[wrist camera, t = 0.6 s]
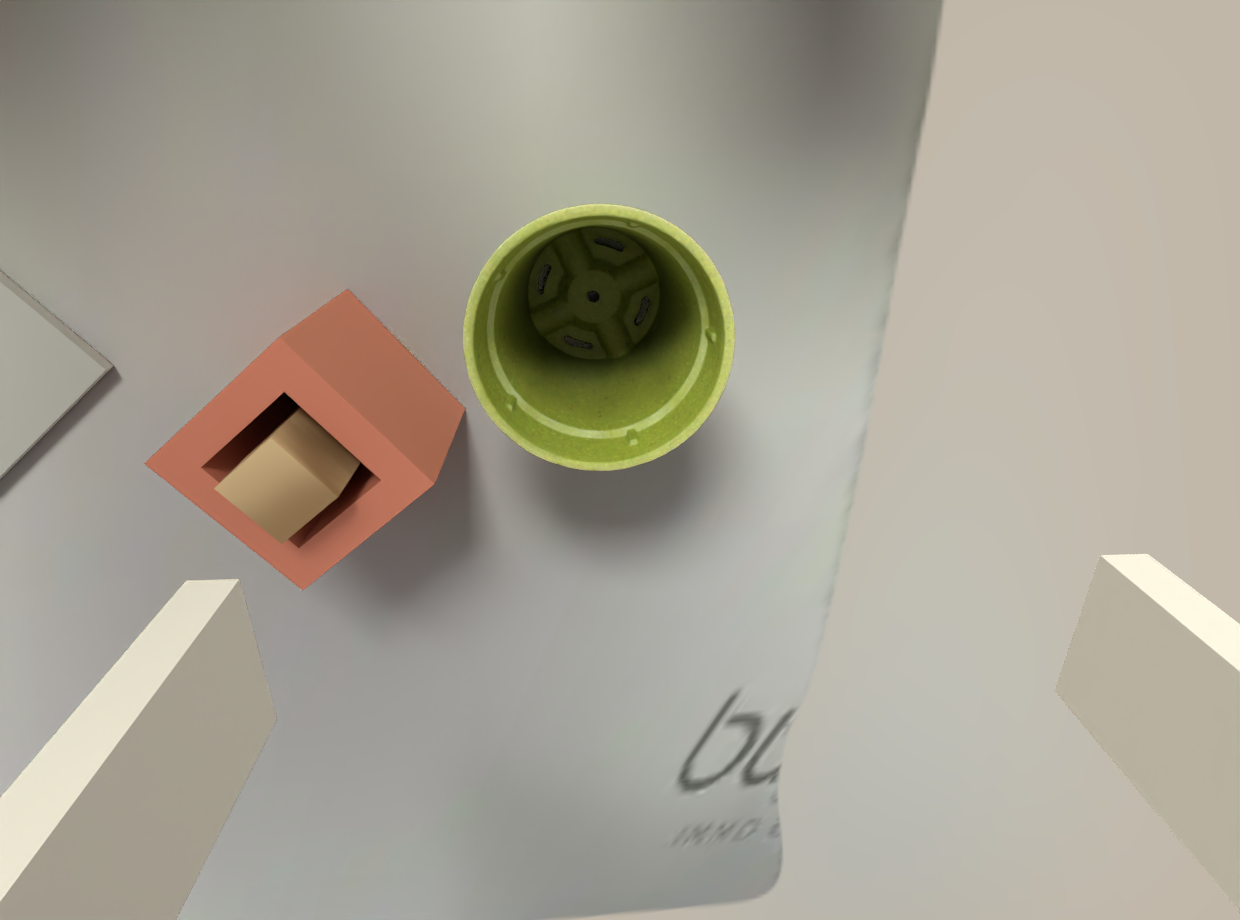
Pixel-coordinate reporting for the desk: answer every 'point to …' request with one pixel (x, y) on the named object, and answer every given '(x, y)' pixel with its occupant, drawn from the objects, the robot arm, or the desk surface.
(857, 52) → the desk surface
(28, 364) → the coaster
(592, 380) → the plant pot
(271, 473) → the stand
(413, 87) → the desk surface
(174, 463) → the salmon square sleeve
